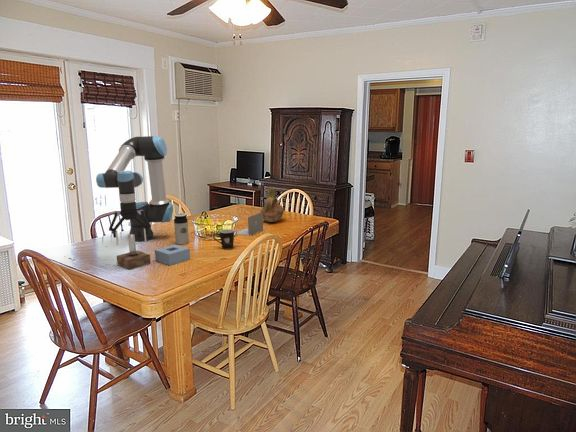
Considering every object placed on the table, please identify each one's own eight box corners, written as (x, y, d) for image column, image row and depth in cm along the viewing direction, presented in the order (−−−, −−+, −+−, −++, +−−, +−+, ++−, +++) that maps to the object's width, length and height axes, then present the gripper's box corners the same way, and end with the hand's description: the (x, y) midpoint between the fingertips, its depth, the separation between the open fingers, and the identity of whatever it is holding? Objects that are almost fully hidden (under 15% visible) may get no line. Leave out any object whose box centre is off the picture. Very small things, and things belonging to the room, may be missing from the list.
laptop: (248, 228, 290) (247, 210, 287) (263, 230, 284) (262, 211, 281) (233, 234, 274) (232, 215, 271) (248, 236, 268) (248, 217, 266)
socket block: (155, 260, 222) (154, 249, 221) (175, 254, 232) (175, 244, 230) (169, 265, 214) (168, 254, 212) (190, 259, 223) (189, 248, 222)
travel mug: (175, 242, 257) (172, 213, 253) (188, 240, 259) (186, 212, 255) (176, 245, 249) (174, 216, 245) (189, 243, 252) (187, 215, 248)
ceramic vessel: (286, 217, 320) (285, 185, 315) (281, 225, 295) (280, 190, 289) (264, 217, 322) (263, 185, 317) (257, 224, 297) (256, 190, 292)
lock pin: (129, 262, 216) (126, 234, 213) (135, 261, 218) (132, 233, 215) (132, 263, 214) (129, 235, 211) (138, 262, 216) (135, 234, 213)
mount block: (117, 264, 216) (116, 255, 215) (138, 259, 225) (137, 250, 224) (129, 269, 208) (128, 260, 207) (150, 263, 217) (149, 254, 216)
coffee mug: (237, 246, 246) (236, 229, 244) (230, 250, 238) (230, 233, 236) (220, 244, 250) (219, 228, 248) (213, 248, 242) (212, 232, 240)
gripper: (100, 204, 201) (105, 246, 206) (154, 201, 210) (157, 241, 214) (101, 202, 208) (105, 242, 213) (153, 198, 217) (156, 238, 221)
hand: (131, 242), depth 213 cm, fingers open, 13 cm apart
